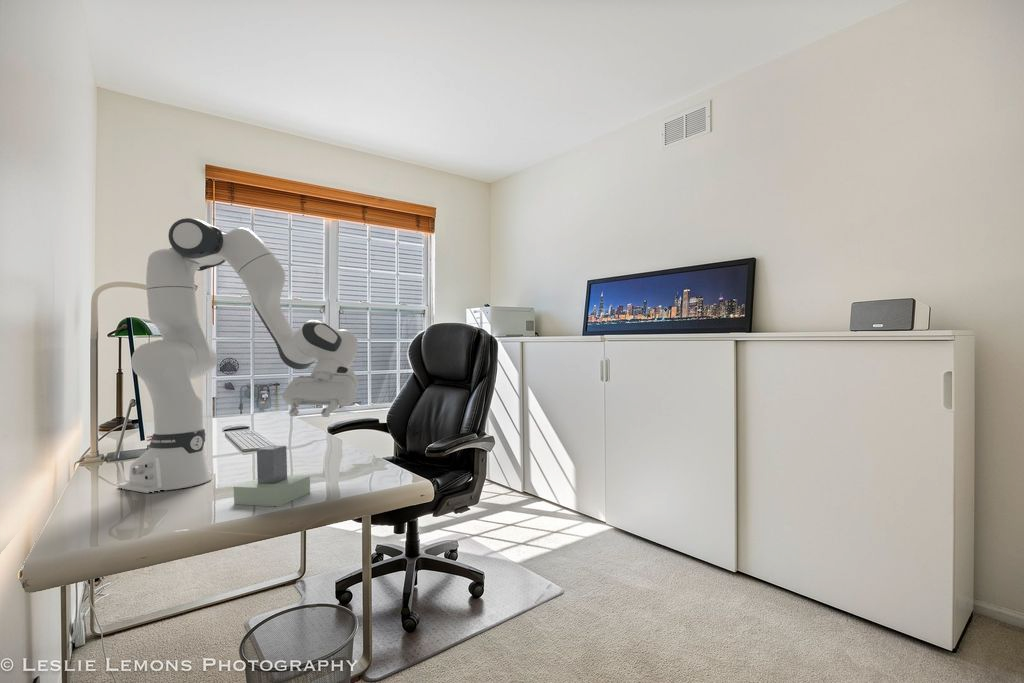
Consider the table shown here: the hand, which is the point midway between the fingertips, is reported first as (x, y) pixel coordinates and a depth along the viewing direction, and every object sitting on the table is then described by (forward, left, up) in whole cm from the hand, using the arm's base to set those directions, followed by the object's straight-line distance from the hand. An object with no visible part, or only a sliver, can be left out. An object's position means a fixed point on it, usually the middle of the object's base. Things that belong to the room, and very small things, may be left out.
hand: (308, 415), depth 134 cm
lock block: (+1, -15, -13) cm, 20 cm away
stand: (+1, -15, -17) cm, 23 cm away
